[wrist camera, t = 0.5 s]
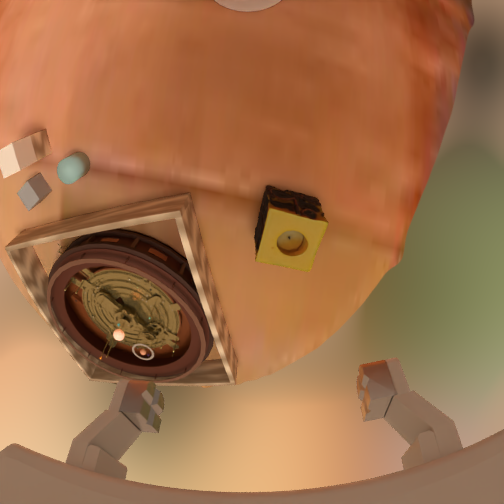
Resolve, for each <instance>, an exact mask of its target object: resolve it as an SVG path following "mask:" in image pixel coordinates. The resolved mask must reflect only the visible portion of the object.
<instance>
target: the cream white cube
mask: <svg viewBox="0 0 504 504" xmlns="http://www.w3.org/2000/svg"><path fill="white" fill-rule="evenodd" d="M36 161H37V158H36V155H35V152H34V148H33V144H32V141H31V137H30V135H29V136H27V137H25V138H22V139H20V140H17V141H15V142H13V143H11V144H9V145H8V146H6V147H4V148H2V149H1V150H0V168H1V171H2V174H3V177H4V178H6V177H8V176H10V175H12V174H14V173H16V172H18V171H20V170H22V169H24V168H25V167H27V166H29V165H31V164H33V163H35V162H36Z"/></svg>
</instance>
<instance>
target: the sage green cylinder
mask: <svg viewBox="0 0 504 504" xmlns="http://www.w3.org/2000/svg"><path fill="white" fill-rule="evenodd" d="M89 169H90V161H89V158H88V156H87V155H86V154H84V153H82V152H76V153H74V154H72V155H71V156H69V157H67V158H65V159H63V160H61V161H60V162H59V164H58V167H57V174H58V177H59V179H60V180H61V181H62V182H63V183H65V184H72V183H74V182H75V181H76V180H78V179H79V178H81V177H82V176H84V175H85V174H86V173H87V172H88V171H89Z"/></svg>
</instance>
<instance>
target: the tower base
mask: <svg viewBox="0 0 504 504" xmlns="http://www.w3.org/2000/svg"><path fill="white" fill-rule="evenodd" d="M30 137H31V141H32V144H33V148H34V152H35V155H36V158H37V161H38V160H40V159H42V158H44V157H46V156H48V155H50V154H52V149H51V146H50V142H49V139H48V135H47V131H46V129H45V130H42V131H39V132H37V133H34V134H32V135H30Z"/></svg>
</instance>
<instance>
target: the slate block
mask: <svg viewBox="0 0 504 504" xmlns="http://www.w3.org/2000/svg"><path fill="white" fill-rule="evenodd" d="M51 191H52V190H51V188H50V187H49V185H48V184H47V182H46V181H45V179H44V178H43V176H42V174H41V173H39V174H37V175H36V176H34V177H33V178H31V179H29V180H28V181H27V182H26V183H25V184H24V185H23V187H22V188H21V189H20V190H19V192H18V193H17V194H18V196H19V197H20V199H21V200H22V202H23V203H24V205H25V206H26V208H27V209H28V211H30V210H31V209H32V208H34V207H35V206H36V205H37V204H39V203H40V202H41V201H42V200H43V199H44V198H45V197H46V196H47V195H48V194H49V193H50V192H51Z"/></svg>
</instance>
